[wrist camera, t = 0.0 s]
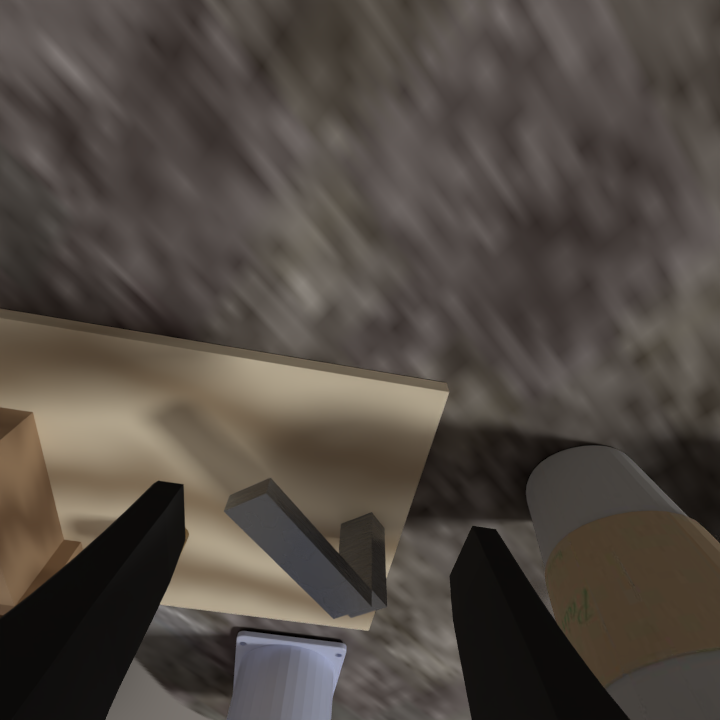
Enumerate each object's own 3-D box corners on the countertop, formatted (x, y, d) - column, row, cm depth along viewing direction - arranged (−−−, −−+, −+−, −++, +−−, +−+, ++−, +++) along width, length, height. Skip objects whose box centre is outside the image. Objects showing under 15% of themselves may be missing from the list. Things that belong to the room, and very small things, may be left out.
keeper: (256, 425, 21) (223, 511, 16) (290, 408, 20) (266, 493, 16) (354, 539, 25) (350, 635, 20) (384, 528, 24) (387, 624, 20)
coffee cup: (462, 469, 23) (581, 928, 10) (637, 383, 20) (1132, 870, 7) (537, 561, 27) (699, 988, 13) (696, 500, 24) (1096, 966, 11)
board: (368, 618, 30) (368, 719, 25) (-1, 571, 28) (-82, 669, 23) (446, 382, 20) (471, 469, 15) (-107, 290, 19) (-284, 353, 14)
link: (91, 591, 28) (51, 658, 24) (12, 581, 28) (-40, 648, 24) (54, 415, 21) (-10, 474, 17) (-53, 399, 21) (-141, 455, 17)
